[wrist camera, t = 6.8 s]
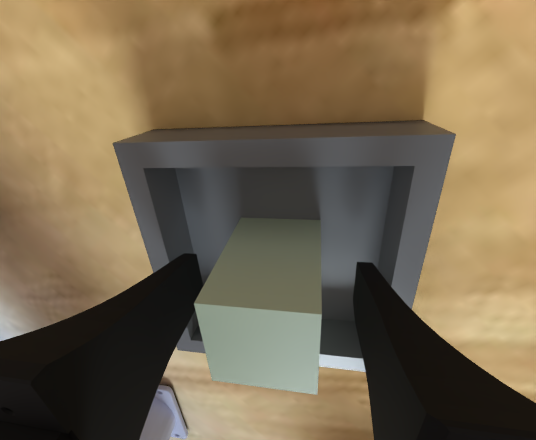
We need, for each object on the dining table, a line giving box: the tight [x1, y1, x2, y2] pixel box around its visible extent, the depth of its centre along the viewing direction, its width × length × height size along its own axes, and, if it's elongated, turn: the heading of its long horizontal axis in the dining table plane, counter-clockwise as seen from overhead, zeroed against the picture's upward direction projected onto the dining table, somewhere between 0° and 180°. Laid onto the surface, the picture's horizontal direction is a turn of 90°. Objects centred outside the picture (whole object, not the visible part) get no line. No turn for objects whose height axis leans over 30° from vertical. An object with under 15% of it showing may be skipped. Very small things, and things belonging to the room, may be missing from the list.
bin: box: [113, 120, 456, 372], centre depth 14 cm, size 12×12×3 cm
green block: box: [194, 218, 322, 395], centre depth 12 cm, size 4×4×6 cm
